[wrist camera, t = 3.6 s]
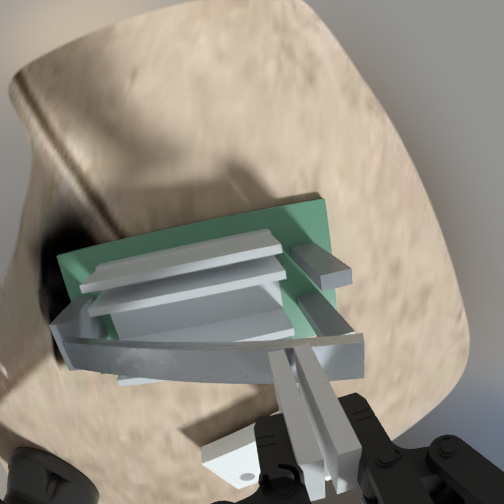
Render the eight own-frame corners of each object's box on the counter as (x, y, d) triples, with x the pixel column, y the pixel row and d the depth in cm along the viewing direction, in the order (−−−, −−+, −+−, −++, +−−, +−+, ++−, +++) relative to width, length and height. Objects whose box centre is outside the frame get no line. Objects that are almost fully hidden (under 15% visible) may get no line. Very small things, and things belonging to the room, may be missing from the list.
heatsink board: (102, 370, 27) (78, 425, 19) (59, 254, 24) (10, 285, 16) (335, 326, 28) (373, 374, 21) (322, 198, 25) (368, 209, 17)
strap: (79, 362, 19) (73, 367, 19) (68, 336, 19) (61, 341, 18) (362, 368, 15) (364, 377, 14) (362, 332, 14) (364, 341, 13)
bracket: (302, 390, 30) (324, 440, 23) (328, 423, 32) (349, 469, 25) (201, 441, 31) (202, 492, 23) (235, 468, 33) (242, 515, 25)
